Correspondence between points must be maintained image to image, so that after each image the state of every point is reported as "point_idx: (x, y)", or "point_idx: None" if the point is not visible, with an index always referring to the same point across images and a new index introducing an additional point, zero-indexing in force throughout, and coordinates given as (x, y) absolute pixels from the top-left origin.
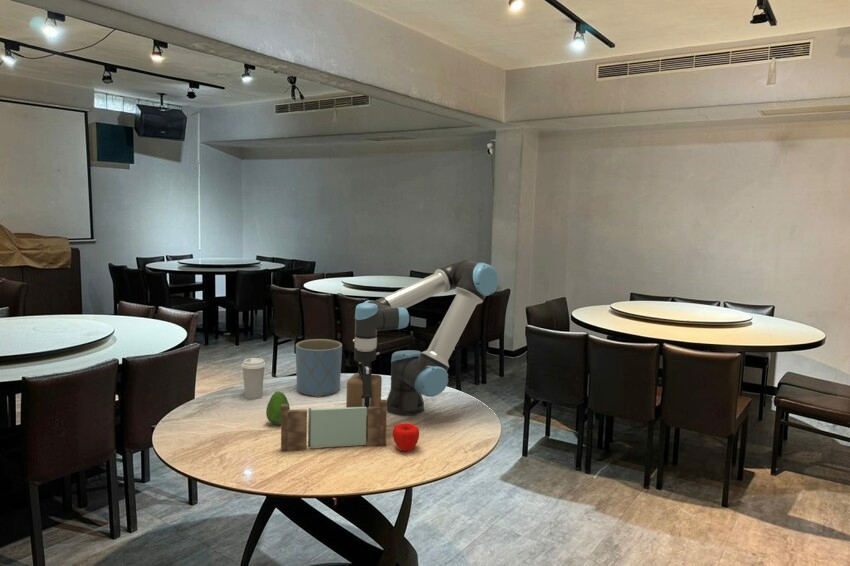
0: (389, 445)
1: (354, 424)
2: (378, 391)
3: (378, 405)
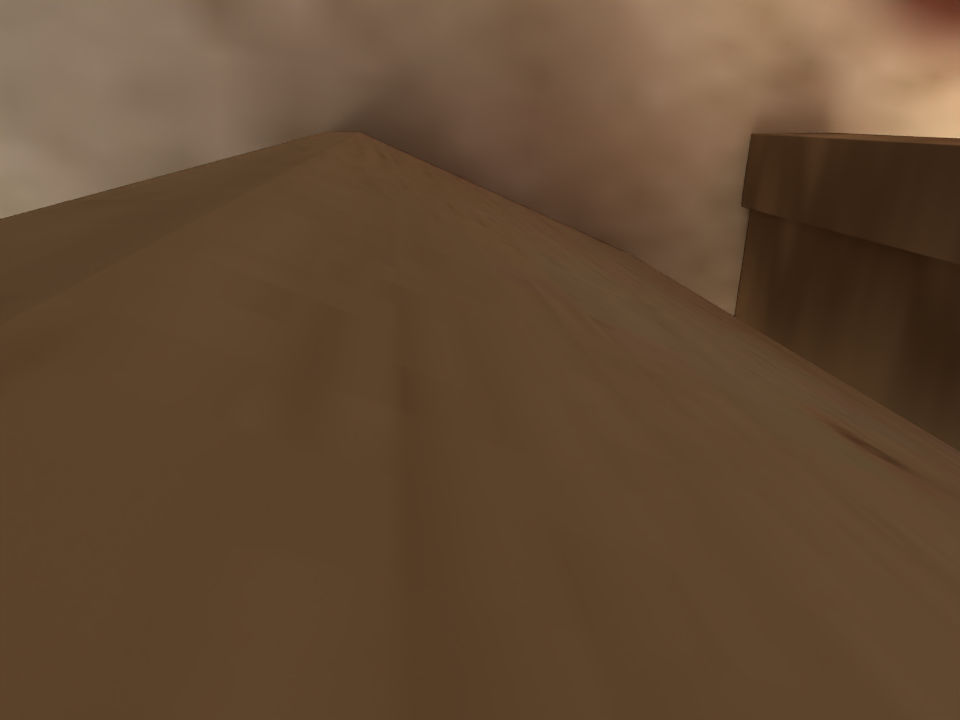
0: (838, 83)
1: None
2: (892, 520)
3: (560, 260)
